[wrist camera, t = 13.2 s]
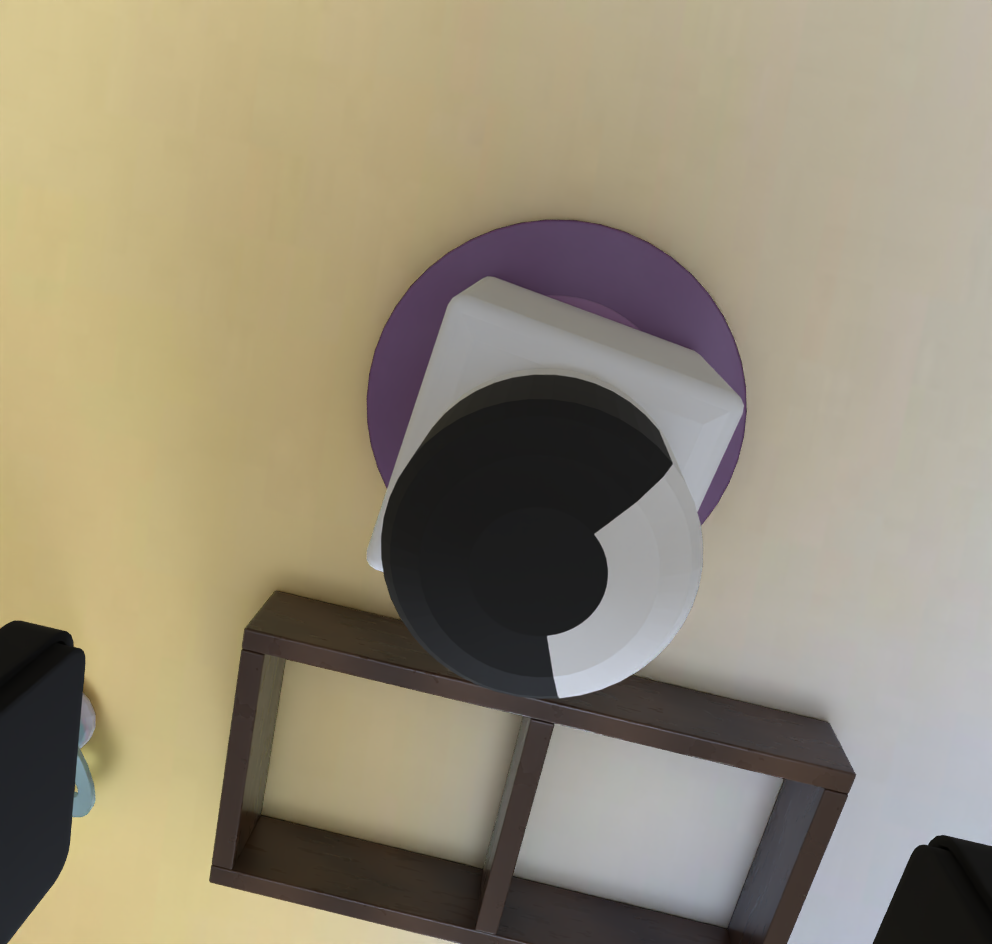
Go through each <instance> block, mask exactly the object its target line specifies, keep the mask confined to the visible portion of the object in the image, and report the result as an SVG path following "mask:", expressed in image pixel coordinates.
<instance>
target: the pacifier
mask: <svg viewBox="0 0 992 944" xmlns="http://www.w3.org/2000/svg"><path fill="white" fill-rule="evenodd" d="M95 726H96V724H95V711H94V708H93V706H92V704H91V702H90V700H89V699H88V698H87V696H86V695H85V694H84V693H83V696H82V708H81V719H80V731H79V743H78V754H77V766H76V778H75V783H76V785H77V788H78V793H77V792H75V791H74V801H73V813H72V817H83V816H85V815H87V814H88V813H89V811H90V810H91V809H92V807H93V806H94V803H95V788H94V783H93V779H92V776H91V773H90V770H89V767H88V764H87V762H86V760H85V758H84V756H83V754H82V752H81V750H80V749H81V748H82V747H83V746H84V745H85V744H86V743H87V742H88V741H89V740H90V738H91V736H92V734H93V732H94V729H95Z"/></svg>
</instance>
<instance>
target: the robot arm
mask: <svg viewBox="0 0 992 944" xmlns="http://www.w3.org/2000/svg"><path fill="white" fill-rule="evenodd" d="M84 672H85V654H84V651H83V650H82V649H80V648H76V647H74V645H73V639H72V636H71V635H70V634H69V633H68V632H67V631H63V630H58V629H54V628H50V627H45V626H41V625H37V624H32V623H28V622H24V621H12V622H10V623H8V624H6V625H5V626H3V627H2V628H0V944H7V943H8V942H9V941H10V939H11V938H12V937H13V935H14V934H15V933H16V932H17V930H18V929H19V928H20V926H21V925H22V924H23V923H24V921H25V920H26V919H27V917H28V916H29V915H30V914H31V912H32V911H33V910H34V909H35V907H36V906H37V905H38V903H39V902H40V901H41V900H42V898H43V897H44V896H45V894H46V893H47V892H48V891H49V889H50V888H51V887H52V885H53V884H54V882H55V881H56V880H57V878H58V876H59V874H60V872H61V871H62V869H63V866H64V864H65V861H66V858H67V855H68V852H69V846H70V836H71V825H72V813H73V801H74V790H75V778H76V766H77V754H78V743H79V731H80V719H81V708H82V696H83V684H84ZM873 944H992V846H988V845H984V844H980V843H975V842H971V841H967V840H962V839H958V838H954V837H950V836H945V835H941V836H936V837H935V838H934V839H932V840H931V841H930V843H929V844H928V845H919V846H918V847H917V848H915V849H914V851H913V853H912V854H911V856H910V859H909V861H908V863H907V866H906V868H905V870H904V873H903V875H902V877H901V879H900V882H899V884H898V886H897V889H896V891H895V893H894V896H893V898H892V900H891V902H890V905H889V907H888V909H887V912H886V914H885V916H884V919H883V921H882V923H881V926H880V928H879V930H878V932H877V935H876V937H875V939H874V942H873Z"/></svg>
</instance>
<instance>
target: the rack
mask: <svg viewBox="0 0 992 944" xmlns="http://www.w3.org/2000/svg"><path fill="white" fill-rule="evenodd" d="M242 648H243V649H242V650H241V657H240V664H239V671H238V679H237V686H236V693H235V700H234V707H233V714H232V722H231V729H230V736H229V743H228V750H227V757H226V765H225V772H224V779H223V786H222V793H221V800H220V808H219V815H218V822H217V829H216V836H215V843H214V851H213V858H212V865H211V872H210V879H209V881H210V882H211V883H215V884H219V885H223V886H227V887H231V888H235V889H239V890H243V891H247V892H251V893H255V894H259V895H263V896H268V897H272V898H276V899H280V900H284V901H288V902H292V903H296V904H300V905H304V906H308V907H312V908H316V909H320V910H325V911H329V912H333V913H337V914H341V915H345V916H349V917H353V918H357V919H361V920H365V921H369V922H373V923H377V924H381V925H386V926H390V927H394V928H398V929H402V930H406V931H410V932H414V933H418V934H422V935H426V936H430V937H434V938H438V939H443V940H447V941H451V942H455V943H459V944H787V942H788V940H789V937H790V935H791V933H792V930H793V928H794V925H795V923H796V920H797V918H798V916H799V913H800V911H801V908H802V906H803V904H804V901H805V899H806V896H807V894H808V891H809V889H810V887H811V884H812V882H813V879H814V877H815V874H816V872H817V870H818V867H819V865H820V862H821V860H822V858H823V855H824V853H825V850H826V848H827V845H828V843H829V841H830V838H831V836H832V833H833V831H834V828H835V826H836V824H837V821H838V819H839V816H840V814H841V812H842V809H843V807H844V804H845V802H846V799H847V797H848V793H849V791H850V789H851V786H852V784H853V782H854V779H855V777H856V774H855V772H854V770H853V768H852V766H851V764H850V762H849V760H848V758H847V756H846V754H845V752H844V750H843V748H842V746H841V744H840V742H839V741H838V739H837V737H836V735H835V733H834V731H833V729H832V727H831V725H830V723H828V722H824V721H820V720H816V719H812V718H808V717H803V716H799V715H795V714H791V713H787V712H782V711H778V710H774V709H770V708H766V707H761V706H757V705H753V704H749V703H745V702H740V701H736V700H732V699H728V698H724V697H719V696H715V695H711V694H707V693H703V692H698V691H694V690H690V689H686V688H682V687H677V686H673V685H669V684H665V683H661V682H656V681H652V680H648V679H644V678H640V677H635V676H629V677H627V678H626V679H624V680H622V681H620V682H618V683H616V684H613V685H611V686H608V687H606V688H604V689H601V690H598V691H594V692H591V693H587V694H583V695H579V696H572V697H565V698H552V699H536V698H526V697H517V696H512V695H508V694H503V693H499V692H495V691H492V690H490V689H487V688H484V687H481V686H479V685H476V684H474V683H472V682H470V681H468V680H466V679H464V678H462V677H460V676H458V675H457V674H455V673H454V672H452V671H451V670H449V669H448V668H446V667H445V666H443V665H442V664H440V663H439V662H438V661H437V660H436V659H435V658H434V657H432V656H431V655H430V654H429V653H428V652H427V651H426V650H425V649H424V648H423V647H422V646H421V645H420V644H419V643H418V641H417V640H416V639H415V638H414V637H413V636H412V635H411V633H410V632H409V630H408V629H407V627H406V626H405V624H404V623H403V621H400V620H396V619H392V618H388V617H383V616H379V615H375V614H371V613H367V612H362V611H358V610H354V609H350V608H346V607H341V606H337V605H333V604H329V603H325V602H320V601H316V600H312V599H308V598H304V597H299V596H295V595H291V594H287V593H283V592H278V591H275V592H274V593H273V594H272V595H271V597H270V598H269V599H268V600H267V602H266V603H265V604H264V605H263V607H262V608H261V609H260V610H259V611H258V613H257V614H256V615H255V616H254V618H253V619H252V620H251V621H250V623H249V624H248V625H247V626H246V628H245V629H244V636H243V643H242ZM285 659H287V660H291V661H295V662H300V663H304V664H308V665H312V666H316V667H320V668H325V669H329V670H333V671H337V672H341V673H346V674H350V675H354V676H358V677H362V678H366V679H371V680H375V681H379V682H383V683H387V684H391V685H396V686H400V687H404V688H408V689H412V690H416V691H421V692H425V693H429V694H433V695H437V696H441V697H446V698H450V699H454V700H458V701H462V702H466V703H471V704H475V705H479V706H483V707H487V708H491V709H496V710H500V711H504V712H508V713H512V714H517V715H521V716H523V719H522V723H521V726H520V730H519V734H518V738H517V742H516V745H515V749H514V753H513V757H512V761H511V765H510V768H509V772H508V776H507V780H506V784H505V787H504V791H503V795H502V799H501V803H500V806H499V810H498V814H497V818H496V822H495V826H494V829H493V833H492V837H491V841H490V845H489V848H488V852H487V856H486V860H485V864H484V868H483V869H479V868H474V867H470V866H466V865H462V864H458V863H454V862H450V861H446V860H442V859H438V858H433V857H429V856H425V855H421V854H417V853H413V852H409V851H405V850H401V849H396V848H392V847H388V846H384V845H380V844H376V843H372V842H368V841H364V840H360V839H355V838H351V837H347V836H343V835H339V834H335V833H331V832H327V831H323V830H319V829H314V828H310V827H306V826H302V825H298V824H294V823H290V822H286V821H282V820H278V819H273V818H269V817H265V816H261V811H262V805H263V798H264V792H265V786H266V779H267V773H268V767H269V760H270V754H271V748H272V742H273V735H274V729H275V723H276V716H277V710H278V704H279V697H280V691H281V685H282V678H283V672H284V666H285ZM554 724H558V725H562V726H567V727H571V728H575V729H579V730H583V731H587V732H592V733H596V734H600V735H604V736H608V737H612V738H617V739H621V740H625V741H629V742H633V743H637V744H642V745H646V746H650V747H654V748H658V749H662V750H667V751H671V752H675V753H679V754H683V755H688V756H692V757H696V758H700V759H704V760H708V761H713V762H717V763H721V764H725V765H729V766H733V767H738V768H742V769H746V770H750V771H754V772H758V773H763V774H767V775H771V776H775V777H779V778H783V779H785V780H784V783H783V785H782V788H781V791H780V793H779V796H778V798H777V801H776V804H775V806H774V809H773V811H772V814H771V817H770V819H769V822H768V825H767V827H766V830H765V832H764V835H763V838H762V840H761V843H760V845H759V848H758V851H757V853H756V856H755V858H754V861H753V864H752V866H751V869H750V872H749V874H748V877H747V879H746V882H745V885H744V887H743V890H742V892H741V895H740V898H739V900H738V903H737V905H736V908H735V911H734V913H733V916H732V919H731V921H730V924H729V926H728V929H725V928H721V927H716V926H712V925H708V924H704V923H700V922H696V921H692V920H688V919H684V918H680V917H675V916H671V915H667V914H663V913H659V912H655V911H651V910H647V909H643V908H639V907H634V906H630V905H626V904H622V903H618V902H614V901H610V900H606V899H602V898H598V897H593V896H589V895H585V894H581V893H577V892H573V891H569V890H565V889H561V888H556V887H552V886H548V885H544V884H540V883H536V882H532V881H528V880H524V879H520V878H515V877H512V876H513V873H514V869H515V865H516V862H517V858H518V854H519V851H520V847H521V844H522V840H523V836H524V833H525V829H526V826H527V822H528V818H529V815H530V811H531V807H532V804H533V800H534V797H535V793H536V789H537V786H538V782H539V779H540V775H541V771H542V768H543V764H544V760H545V757H546V753H547V750H548V746H549V742H550V739H551V735H552V731H553V728H554Z"/></svg>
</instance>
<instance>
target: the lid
mask: <svg viewBox="0 0 992 944" xmlns="http://www.w3.org/2000/svg"><path fill="white" fill-rule="evenodd" d="M487 276H490V277H496V278H498V279H501V280H504V281H507V282H509V283H512V284H515V285H517V286H520V287H523V288H525V289H528V290H531V291H534V292H536V293H539V294H542V295H544V296H547V297H550V298H553V299H555V300H558V301H561V302H563V303H566V304H569V305H572V306H574V307H577V308H580V309H582V310H585V311H588V312H590V313H593V314H596V315H599V316H601V317H604V318H607V319H609V320H612V321H615V322H618V323H620V324H623V325H626V326H628V327H631V328H634V329H637V330H639V331H642V332H645V333H647V334H650V335H653V336H656V337H658V338H661V339H664V340H666V341H669V342H672V343H674V344H677V345H680V346H683V347H685V348H688V349H691V350H693V351H695V352H697V353H698V354H700V355H701V356H702V358H703V359H704V360H705V361H706V362H707V363H708V364H709V365H710V366H711V367H712V368H713V369H714V370H715V371H716V372H717V373H718V374H719V375H720V376H721V377H722V378H723V380H724V381H725V382H726V383H727V384H728V385H729V386H730V387H731V388H732V389H733V390H734V391H735V392H736V393H737V394H738V395H739V396H740V397H741V399H742V402H743V404H744V408H743V414H742V416H741V418H740V420H739V423H738V425H737V427H736V429H735V431H734V433H733V436H732V438H731V440H730V442H729V444H728V447H727V449H726V451H725V453H724V455H723V457H722V460H721V462H720V464H719V466H718V468H717V471H716V473H715V475H714V477H713V479H712V481H711V484H710V486H709V488H708V490H707V492H706V494H705V497H704V499H703V501H702V503H701V505H700V508H699V510H698V512H697V513H698V517H699V520H700V524H701V525H702V524H703V523H704V521H705V520H706V519H707V517H708V516H709V515H710V513H711V512H712V511H713V509H714V508H715V507H716V505H717V504H718V502H719V500H720V498H721V497H722V495H723V493H724V491H725V489H726V488H727V486H728V484H729V482H730V479H731V477H732V474H733V472H734V469H735V467H736V464H737V462H738V459H739V455H740V450H741V446H742V442H743V438H744V431H745V422H746V413H747V408H746V385H745V379H744V373H743V367H742V362H741V359H740V355H739V352H738V349H737V346H736V343H735V340H734V337H733V335H732V333H731V331H730V329H729V327H728V324H727V322H726V320H725V318H724V316H723V314H722V313H721V311H720V310H719V308H718V307H717V305H716V304H715V302H714V301H713V299H712V298H711V296H710V295H709V293H708V292H707V291H706V290H705V289H704V288H703V286H702V285H701V284H700V283H699V282H698V281H697V280H696V279H695V277H694V276H693V275H692V274H691V273H690V272H689V271H687V270H686V269H685V268H684V267H683V266H681V265H680V264H679V263H678V262H677V261H676V260H674V259H673V258H672V257H671V256H669V255H668V254H666V253H664V252H663V251H661V250H660V249H658V248H657V247H655V246H653V245H652V244H650V243H649V242H646V241H644V240H642V239H640V238H638V237H635V236H633V235H631V234H629V233H627V232H624V231H621V230H618V229H614V228H611V227H608V226H604V225H601V224H596V223H589V222H583V221H576V220H539V221H531V222H523V223H518V224H514V225H510V226H506V227H502V228H499V229H495V230H492V231H490V232H488V233H485V234H483V235H480V236H478V237H475V238H473V239H471V240H469V241H467V242H466V243H464V244H462V245H460V246H459V247H457V248H455V249H453V250H452V251H450V252H448V253H447V254H446V255H445V256H443V257H442V258H441V259H439V260H438V261H437V262H436V263H434V264H433V265H432V266H430V267H429V268H428V269H427V270H426V271H425V272H424V273H423V274H422V275H421V276H420V277H419V278H418V279H417V280H416V281H415V282H414V283H413V284H412V285H411V286H410V288H409V289H408V290H407V292H406V293H405V294H404V296H403V297H402V299H401V300H400V301H399V303H398V304H397V305H396V307H395V308H394V310H393V312H392V314H391V316H390V318H389V319H388V321H387V323H386V325H385V327H384V329H383V331H382V334H381V336H380V339H379V341H378V344H377V347H376V349H375V352H374V356H373V361H372V365H371V369H370V373H369V381H368V390H367V423H368V430H369V436H370V442H371V447H372V450H373V454H374V457H375V460H376V464H377V467H378V470H379V472H380V474H381V476H382V479H383V481H384V483H385V486H386V488H388V485H389V482H390V479H391V476H392V473H393V470H394V466H395V463H396V460H397V457H398V454H399V451H400V448H401V445H402V442H403V439H404V436H405V433H406V430H407V427H408V424H409V421H410V418H411V415H412V412H413V409H414V406H415V403H416V400H417V397H418V394H419V391H420V388H421V385H422V382H423V379H424V376H425V373H426V369H427V366H428V363H429V360H430V357H431V354H432V351H433V348H434V345H435V342H436V339H437V336H438V333H439V330H440V327H441V324H442V321H443V318H444V315H445V312H446V309H447V306H448V304H449V302H450V301H451V299H452V298H453V297H455V296H456V295H458V294H459V293H461V292H462V291H464V290H466V289H467V288H469V287H470V286H472V285H473V284H475V283H476V282H478V281H479V280H481V279H483V278H485V277H487Z"/></svg>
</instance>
